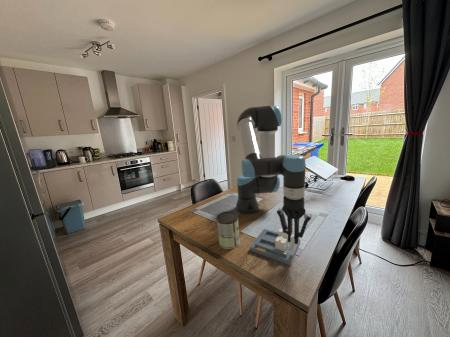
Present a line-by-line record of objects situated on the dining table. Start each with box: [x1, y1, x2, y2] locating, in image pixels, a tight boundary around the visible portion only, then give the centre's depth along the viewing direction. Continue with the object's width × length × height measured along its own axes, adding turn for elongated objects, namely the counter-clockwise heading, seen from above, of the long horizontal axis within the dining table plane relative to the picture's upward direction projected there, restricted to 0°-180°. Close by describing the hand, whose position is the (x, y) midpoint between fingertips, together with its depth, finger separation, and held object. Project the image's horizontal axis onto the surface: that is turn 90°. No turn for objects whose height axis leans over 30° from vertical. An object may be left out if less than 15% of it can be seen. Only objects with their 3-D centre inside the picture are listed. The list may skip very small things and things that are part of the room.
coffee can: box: [215, 211, 241, 250], centre depth 87 cm, size 10×10×14 cm
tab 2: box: [275, 236, 287, 252], centre depth 77 cm, size 4×3×6 cm
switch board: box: [249, 228, 301, 266], centre depth 83 cm, size 18×16×3 cm
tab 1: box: [277, 227, 288, 242], centre depth 83 cm, size 4×3×6 cm
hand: (293, 249), depth 75 cm, fingers closed
